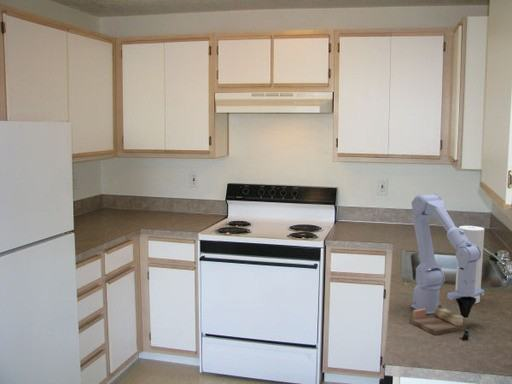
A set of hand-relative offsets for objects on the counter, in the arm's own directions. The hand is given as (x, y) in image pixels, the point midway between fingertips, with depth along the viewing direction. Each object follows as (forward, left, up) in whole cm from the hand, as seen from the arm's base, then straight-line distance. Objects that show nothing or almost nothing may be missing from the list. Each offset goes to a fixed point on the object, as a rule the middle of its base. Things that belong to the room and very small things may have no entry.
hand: (464, 316), depth 194 cm
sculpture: (+10, -9, -3) cm, 14 cm away
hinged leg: (-3, -5, -1) cm, 6 cm away
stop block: (-9, -12, -1) cm, 15 cm away
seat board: (-3, -9, -3) cm, 10 cm away
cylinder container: (-20, +22, -3) cm, 30 cm away
